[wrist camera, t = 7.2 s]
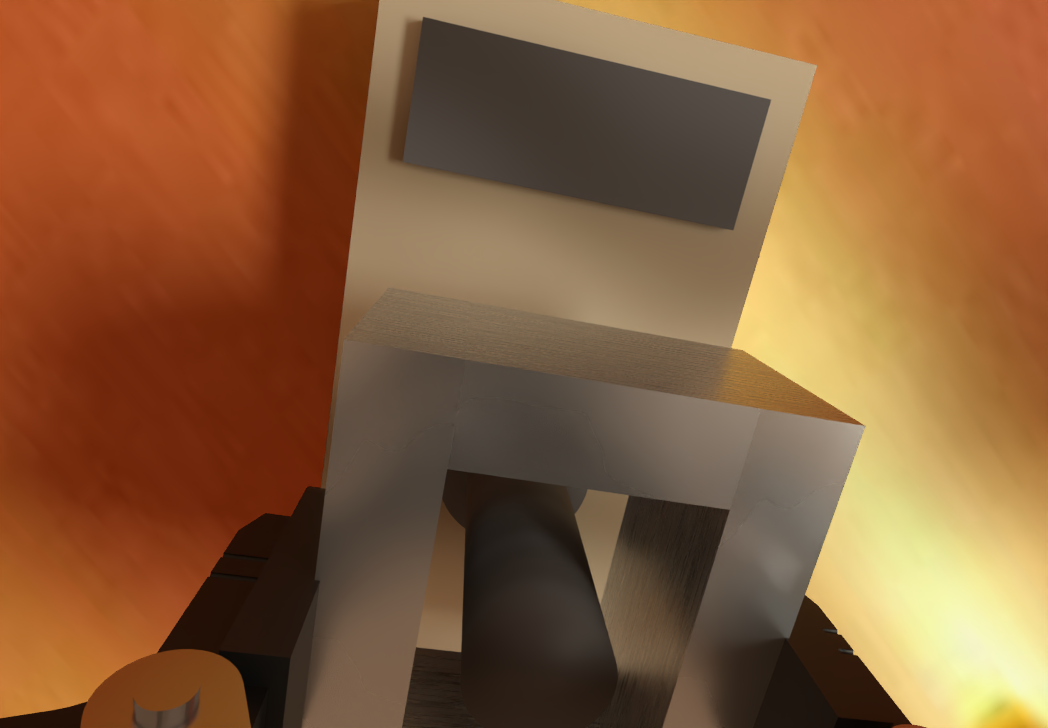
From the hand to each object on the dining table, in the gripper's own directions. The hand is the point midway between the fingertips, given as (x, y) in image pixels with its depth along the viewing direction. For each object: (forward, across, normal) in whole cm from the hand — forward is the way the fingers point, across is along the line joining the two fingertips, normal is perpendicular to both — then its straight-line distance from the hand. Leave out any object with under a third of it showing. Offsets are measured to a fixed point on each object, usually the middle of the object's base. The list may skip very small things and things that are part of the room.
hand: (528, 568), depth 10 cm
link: (+1, 0, 0) cm, 1 cm away
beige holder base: (+5, 0, 0) cm, 5 cm away
